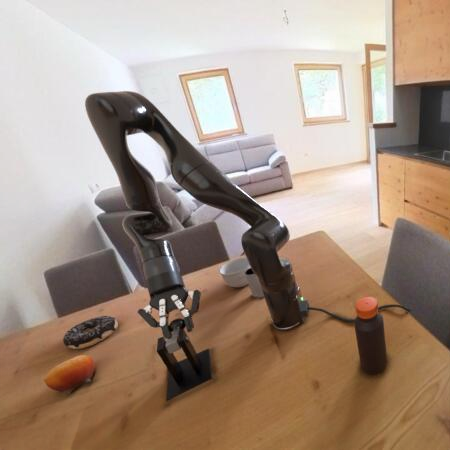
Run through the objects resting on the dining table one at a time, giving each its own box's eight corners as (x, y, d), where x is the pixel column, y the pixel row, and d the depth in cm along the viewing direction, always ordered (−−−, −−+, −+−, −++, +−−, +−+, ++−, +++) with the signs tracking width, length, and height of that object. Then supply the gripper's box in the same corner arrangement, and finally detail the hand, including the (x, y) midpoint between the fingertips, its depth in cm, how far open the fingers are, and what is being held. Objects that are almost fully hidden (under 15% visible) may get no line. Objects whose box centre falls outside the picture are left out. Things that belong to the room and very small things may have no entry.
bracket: (170, 369, 72) (148, 333, 67) (210, 351, 77) (192, 316, 71) (168, 403, 64) (143, 366, 58) (213, 381, 69) (193, 344, 63)
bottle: (355, 367, 70) (344, 307, 61) (372, 348, 75) (364, 290, 66) (376, 381, 67) (368, 319, 58) (392, 360, 72) (387, 300, 63)
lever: (172, 331, 75) (167, 319, 74) (188, 324, 77) (183, 313, 76) (166, 358, 64) (160, 345, 63) (185, 349, 66) (179, 337, 65)
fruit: (58, 403, 64) (35, 376, 63) (61, 399, 69) (40, 374, 68) (104, 375, 70) (85, 349, 69) (104, 373, 75) (86, 349, 74)
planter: (269, 293, 98) (262, 269, 94) (258, 300, 95) (249, 276, 90) (262, 289, 100) (254, 265, 96) (250, 296, 97) (241, 272, 93)
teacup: (244, 293, 99) (238, 274, 95) (219, 290, 101) (211, 272, 98) (268, 270, 111) (263, 253, 108) (245, 268, 113) (239, 251, 110)
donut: (86, 354, 78) (78, 344, 76) (56, 347, 80) (48, 338, 79) (128, 324, 87) (122, 315, 86) (100, 319, 90) (94, 310, 88)
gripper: (123, 283, 70) (140, 348, 66) (190, 263, 77) (208, 321, 73) (136, 289, 76) (152, 349, 73) (196, 269, 83) (214, 323, 80)
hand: (180, 334), depth 73 cm, fingers closed on lever, 3 cm apart
